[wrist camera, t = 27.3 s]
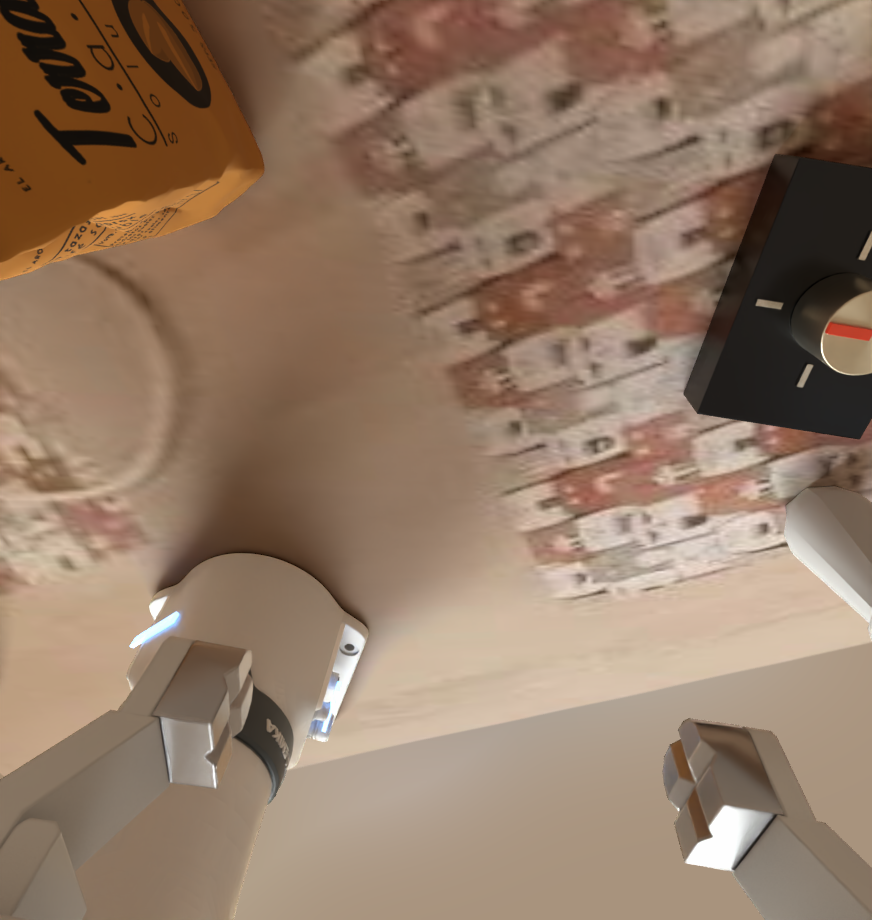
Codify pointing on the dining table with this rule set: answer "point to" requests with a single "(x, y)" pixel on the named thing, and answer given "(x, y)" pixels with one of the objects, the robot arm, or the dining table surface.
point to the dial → (837, 323)
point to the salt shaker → (835, 542)
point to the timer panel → (788, 304)
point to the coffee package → (110, 128)
